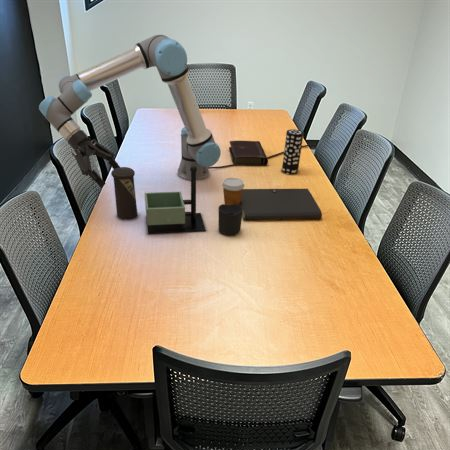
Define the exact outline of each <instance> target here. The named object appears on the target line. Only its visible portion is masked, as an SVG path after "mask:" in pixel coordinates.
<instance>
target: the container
mask: <svg viewBox="0 0 450 450" xmlns="http://www.w3.org/2000/svg"><path fill="white" fill-rule="evenodd" d="M135 174H136V172H135V170H134V169H133V168H131V167H127V166H120V167H119V168H116V169H112V170H111V172H110V175H111V177H112V179H113V187H114V188H113V189H114V197H115V209H116V216H117V218H118V219H119V220H122V221H132V220H135V219H137V218H138V206H137V197H136V196H137V195H136V188H135Z"/></svg>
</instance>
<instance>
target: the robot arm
mask: <svg viewBox="0 0 450 450" xmlns="http://www.w3.org/2000/svg"><path fill="white" fill-rule="evenodd" d="M153 67H156V69H157V72H158V74H159V76H160V77H159V78H160V79H161V81H162V83H164V84H167V86H168V89H169V92H170V94H171V96H172V99H173V102H174V104H175V106H176V109H177V111H178V114H179V116H180V119H181V122H182V124H183V126H184V127H182V128H181V130H180V145H181V146H180V147H181V148H180V149H181V150H180V151H181V158H180V163H179V166H178V167H177V175H178V176H179V177H180V178H181V179H184V180H187V181H191V171H190V167H191V166H192V165H195V166H196V167H197V171H196V181H202V180H204V179H207V178H208V177H209V175H210V169H213V170H214V169H224V168H229V167H234V166H239V165H238V164H234V163H233V164H231V163H230V164H226V165H220V166H214V165H216V164H217V163H218V162H219V160H220V158H221V151H222V150H221V147H220V146H219V144H218V143H217V142H216V141H215V138H214V136H213V133H212V130H211V129H209V128H207V127H206V123H205V121H204V118H203V115H202V113H201V110H200V107H199V105H198V102H197V99H196V95H195V93H194V90H193V88H192V85H191V82H190V80H189V77H188V74H189V72H190V69H189V66H188V55H187V52H186V50H185V48H184V46H183V45H182V44H181V43H180V42H178V40H176V39H173V38H170V37H168V36H166V35H164V34H155V35H152V36H150V37H148V38H146V39H143V40H141V41H139V42H137V43H135V44H134V45H133V48H131V49H129V50H127V51H126V50H125V51H124V52H122V53H120V54H117V55H115V56H113V57H111V58H109V59H106V60H104V61H101V62H99V63H97V64H95V65H93V66H91V67H88V68H86V69H84V70H82V71H79V72H77V73H75V74H73V75H71V76H70V75H64V76H62V77H60V79H59V81H58V88H59V92H60V95H59V96H58V97H54V96H53V95H48V96H47V97H46V98H44V99H43V100H42V101H41V102H40V104H39V105H38V110H39V111H40V113H41V114H42V115H43V117H45V119H46V120H47V122H49V124H50V125H51V126H52V127H53V128H54V129H55V130H56V131H57V132H58V134H59V135H60V136H61V137H62V138H63V139H64V140H65V141H67V144H68V145H69V147H71V148H72V149H73V151H72V152H71V154H72V156H73V157H74V158H75V161H76V163H77V166H78V167H79V170H80V172H81V174H82V175H83V176H86V177H88V176H89V177H90V178H91V179H92V180H93V181H94V182H95V183H96V184H97V186H99V187H100V189H102V188H103V187H104V186H105V185H106V181H104V180H103V178H102V177H101V176H100V175H99V174H98V173H97V172H96V170H95V169H92V168H93V167H92V165H91V164H92V163H91V158H90V157H91V156H96V157H99V158H101V159H103V160H105V161H108V162H107V163H108V165H109V166H110V167H111V168H112V170H114V169H116V168H119V167H121V166H120V165H119V163H118V161H116V160H115V152H113V151H111V150H110V149H108V148H107V147H105V146H104V145H103V144H101V143H100V142H98V141H97V140H96V138H93V139H92V140H91V141H90V139H89V136H88V135H87V133H86V132H85V131H84V130H83V129H81V126H80V125H79V124H78V123H77V122H76V120H74V118H72V115H74V114H75V113H76V112H77V111H78V110H79V109H80V108H81V107H82V106H83V105H85V104H86V103H88V101H89V100H90V99H91V98H92V96H93V93H92V91H93V90H96V89H99V88H100V87H103V86H105V85H107V84H109V83H111V82H113V81H116V80H118V79H120V78H122V77H125V76H128V75H129V74H131V73H133V72H136V71H138V70H141V69H143V70H148V69H149V68H153ZM306 147H314V148H316V145H315V144H314V143H309V144H304V145H302V148H306ZM282 154H284V151H281V152H278V153H276V154H273V155H269V156H267V158H268V159H271V158H274V157H277V156H279V155H282Z"/></svg>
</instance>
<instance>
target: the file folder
mask: <svg viewBox="0 0 450 450" xmlns="http://www.w3.org/2000/svg"><path fill="white" fill-rule="evenodd" d="M240 206H241V207H242V208H243V212H242V220H244V221H265V220H269V221H270V220H271V221H273V220H322V217H323V212H322V210H321V207H320V206H319V204H318V203H317V201H316V199H315V198H314V196H313V194H312V193H311V192H310V190H309V188H243V192H242V197H241V201H240Z"/></svg>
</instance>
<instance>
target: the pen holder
mask: <svg viewBox="0 0 450 450" xmlns="http://www.w3.org/2000/svg"><path fill="white" fill-rule="evenodd" d="M242 212H243V208H242V207H241V206H240V205H238V204H232V205H225V204H224V203H223V204H220V205H218V232H219V233H220V234H221V235H223V236H227V237H234V236H237V235H238V234H240V233H241V228H242V220H243V216H242Z"/></svg>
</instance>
